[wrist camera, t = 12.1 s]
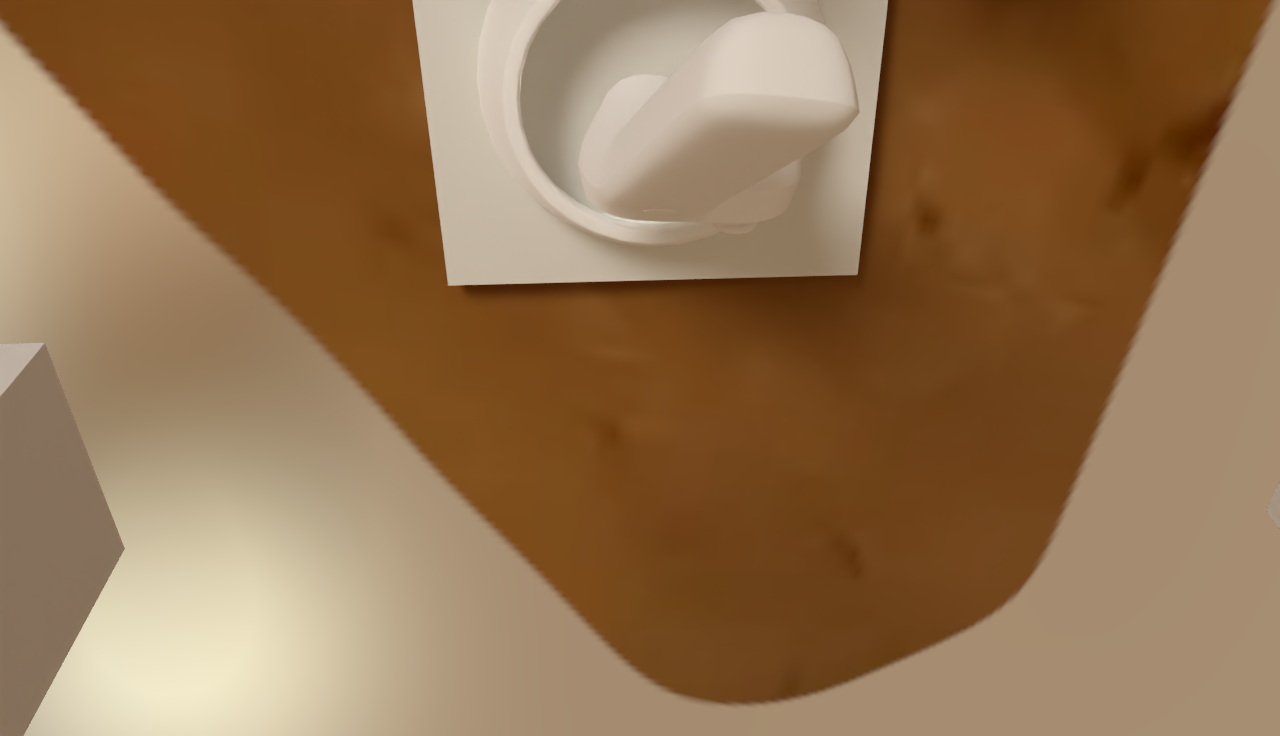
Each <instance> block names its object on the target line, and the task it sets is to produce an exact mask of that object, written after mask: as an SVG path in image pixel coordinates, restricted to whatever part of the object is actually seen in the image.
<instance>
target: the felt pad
mask: <svg viewBox="0 0 1280 736" xmlns="http://www.w3.org/2000/svg"><path fill="white" fill-rule="evenodd" d="M490 2H491V0H413V8H414V16H415V24H416V32H417V40H418V48H419V56H420V64H421V72H422V80H423V88H424V96H425V104H426V112H427V119H428V127H429V135H430V143H431V151H432V159H433V167H434V175H435V183H436V191H437V199H438V207H439V215H440V223H441V231H442V239H443V247H444V255H445V263H446V271H447V279H448V286H450V285H488V284H526V283H564V282H603V281H641V280H679V279H717V278H756V277H794V276H832V275H858V266H859V257H860V248H861V239H862V230H863V221H864V212H865V203H866V194H867V185H868V176H869V167H870V158H871V149H872V140H873V131H874V122H875V113H876V104H877V95H878V86H879V78H880V69H881V60H882V51H883V42H884V33H885V24H886V15H887V6H888V0H817V2H818V5H819V8H820V10H821V13H822V16H823V18H824V23H825V26H826V27H828V28H829V29H830V30H831V31H832V32H833V33H834V34H835V35H836V36H838V37H839V39H840V42H841V44H842V46H843V48H844V50H845V52H846V55H847V57H848V60H849V62H850V65H851V68H852V72H853V77H854V81H855V86H856V92H857V97H858V104H859V111H860V113H859V114H858V115H857V117H856V118H855V119H854V120H853V122H852V123H851V124H850V125H849V126H848V128H847V129H846V130H844V131H843V132H841V133H840V134H838V135H837V136H835V137H834V138H833V139H831V140H830V141H828V142H827V143H825V144H823V145H821V146H820V147H818V148H816V149H815V150H813V151H811V152H809V153H808V154H806V155H805V156H804V157H803V159H802V160H801V177H800V180H799V182H798V185H797V188H796V190H795V192H794V195H793V197H792V199H791V202H790V204H789V206H788V208H787V209H786V211H785V212H783V213H782V214H781V215H779V216H776V217H774V218H772V219H768V220H765V221H760V222H756V227H755V228H754V229H753V230H752V231H750V232H748V233H744V234H730V233H725V232H722V231H721V232H718V233H716V234H714V235H712V236H709V237H707V238H703V239H699V240H695V241H691V242H687V243H683V244H679V245H666V246H651V247H646V246H637V245H629V244H620V243H616V242H612V241H609V240H606V239H602V238H599V237H596V236H592V235H589V234H587V233H585V232H583V231H582V230H580V229H578V228H576V227H574V226H572V225H570V224H568V223H566V222H564V221H562V220H560V219H558V218H557V217H556V216H554V215H553V214H552V213H551V212H549V211H548V210H547V209H545V208H544V207H543V206H542V205H540V204H539V203H538V202H536V201H535V200H534V199H533V198H532V197H531V196H530V195H529V194H528V192H527V191H526V190H525V189H524V188H523V187H522V186H521V184H520V183H519V182H518V181H517V180H516V179H515V178H514V177H513V175H512V174H511V173H510V172H509V170H508V169H507V167H506V165H505V163H504V162H503V160H502V158H501V157H500V155H499V153H498V151H497V150H496V148H495V146H494V145H493V143H492V140H491V137H490V135H489V132H488V129H487V126H486V123H485V120H484V117H483V115H482V112H481V105H480V98H479V91H478V84H477V60H478V42H479V39H480V35H481V31H482V27H483V23H484V20H485V16H486V12H487V8H488V6H489V4H490ZM759 12H765V11H764V10H763V8H762V7H761V6H760V5H759V4H758V3H757V2H756V1H755V0H561V1H560V2H559V3H558V4H557V5H556V7H555V8H554V9H553V10H552V12H551V13H550V14H549V15H548V16H547V18H546V19H545V20H544V21H543V22H542V24H541V26H540V28H539V30H538V32H537V34H536V36H535V37H534V39H533V41H532V43H531V45H530V47H529V50H528V54H527V57H526V61H525V64H524V67H523V71H522V77H521V89H520V107H521V115H522V123H523V128H524V131H525V134H526V137H527V140H528V143H529V146H530V149H531V151H532V153H533V155H534V157H535V159H536V160H537V162H538V164H539V166H540V167H541V168H542V170H543V171H544V172H545V173H546V174H547V175H548V177H549V178H550V179H551V180H552V181H553V182H554V184H555V185H556V186H558V187H559V188H560V189H561V190H563V191H564V192H565V193H566V194H568V195H569V196H570V197H571V198H573V199H574V200H575V201H576V202H578V203H580V204H582V205H584V206H586V207H588V208H590V209H592V210H594V211H596V212H597V213H600V214H603V215H606V216H609V217H613V218H616V219H619V220H622V221H629V222H638V223H646V224H653V223H669V222H660V221H642V220H631V219H626V218H621V217H617V216H613V215H610V214H608V213H605V212H603V211H601V210H599V209H597V208H596V207H594V206H593V205H592V204H591V203H590V202H589V201H588V199H587V197H586V194H585V190H584V187H583V183H582V179H581V175H580V171H579V166H578V160H579V155H580V150H581V146H582V143H583V140H584V137H585V135H586V133H587V131H588V128H589V126H590V124H591V122H592V121H593V119H594V117H595V115H596V113H597V112H598V110H599V108H600V106H601V104H602V102H603V100H604V98H605V96H606V94H607V92H608V91H609V90H611V89H612V88H613V87H614V86H615V85H616V84H617V83H618V82H619V81H620V80H622V79H625V78H628V77H630V76H633V75H639V74H655V75H661V76H664V77H667V78H669V77H670V76H671V75H672V74H673V73H674V72H675V71H676V69H677V68H678V67H679V66H680V65H681V64H682V63H683V62H684V61H685V60H686V59H687V58H688V57H689V56H690V55H691V54H692V53H693V51H694V50H695V49H696V48H697V47H698V46H699V45H700V44H701V43H702V42H704V41H705V40H706V39H707V38H708V37H709V36H710V35H712V34H713V33H714V32H715V31H716V30H717V29H719V28H720V27H721V26H723V25H724V24H725V23H727V22H728V21H729V20H731V19H732V18H736V17H741V16H745V15H750V14H754V13H759Z"/></svg>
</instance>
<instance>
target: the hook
mask: <svg viewBox="0 0 1280 736" xmlns="http://www.w3.org/2000/svg"><path fill="white" fill-rule="evenodd" d="M560 1H561V0H491V2H490V4H489V6H488V8H487V12H486V16H485V20H484V23H483V27H482V31H481V35H480V39H479V42H478V60H477V84H478V91H479V98H480V105H481V112H482V115H483V117H484V120H485V123H486V126H487V129H488V132H489V135H490V137H491V140H492V143H493V145H494V146H495V148H496V150H497V151H498V153H499V155H500V157H501V158H502V160H503V162H504V163H505V165H506V167H507V169H508V170H509V172H510V173H511V174H512V175H513V177H514V178H515V179H516V180H517V181H518V182H519V183H520V184H521V186H522V187H523V188H524V189H525V190H526V191H527V192H528V194H529V195H530V196H531V197H532V198H533V199H534V200H535V201H536V202H538V203H539V204H540V205H542V206H543V207H544V208H545V209H547V210H548V211H549V212H551V213H552V214H553V215H554V216H556V217H557V218H558V219H560V220H562V221H564V222H566V223H568V224H570V225H572V226H574V227H576V228H578V229H580V230H582V231H583V232H585V233H587V234H589V235H592V236H596V237H599V238H602V239H606V240H609V241H612V242H616V243H620V244H629V245H637V246H646V247H651V246H666V245H679V244H683V243H687V242H691V241H695V240H699V239H703V238H707V237H709V236H712V235H714V234H716V233H718V232H721V231H722V232H725V233H730V234H744V233H748V232H750V231H752V230H753V229H754V228H755V227H756V222H760V221H765V220H768V219H772V218H774V217H776V216H779V215H781V214H782V213H783V212H785V211H786V209H787V208H788V206H789V204H790V202H791V199H792V197H793V195H794V192H795V190H796V188H797V185H798V182H799V180H800V177H801V160H802V159H803V157H804V156H805V155H806V154H808V153H809V152H811V151H813V150H815V149H816V148H818V147H820V146H821V145H823V144H825V143H827V142H828V141H830V140H831V139H833V138H834V137H835V136H837V135H838V134H840V133H841V132H843V131H844V130H846V129H847V128H848V126H849V125H850V124H851V123H852V122H853V120H854V119H855V118H856V117H857V115H858V114H859V113H860V111H859V104H858V97H857V92H856V86H855V81H854V77H853V72H852V68H851V65H850V62H849V60H848V57H847V55H846V52H845V50H844V48H843V46H842V44H841V42H840V39H839V37H838V36H836V35H835V34H834V33H833V32H832V31H831V30H830V29H829V28H828V27H826V26H825V23H824V18H823V16H822V13H821V10H820V8H819V5H818V2H817V0H755V1H756V2H757V3H758V4H759V5H760V6H761V7H762V8H763V10H764V11H765V12H759V13H754V14H750V15H745V16H741V17H736V18H732V19H731V20H729V21H728V22H727V23H725V24H724V25H723V26H721V27H720V28H719V29H717V30H716V31H715V32H714V33H713V34H712V35H710V36H709V37H708V38H707V39H706V40H705V41H704V42H702V43H701V44H700V45H699V46H698V47H697V48H696V49H695V50H694V51H693V53H692V54H691V55H690V56H689V57H688V58H687V59H686V60H685V61H684V62H683V63H682V64H681V65H680V66H679V67H678V68H677V69H676V71H675V72H674V73H673V74H672V75H671V76H670V77H669V78H667V77H664V76H661V75H655V74H639V75H633V76H630V77H628V78H625V79H622V80H620V81H619V82H618V83H617V84H616V85H615V86H614V87H613V88H612V89H611V90H609V91H608V92H607V94H606V96H605V98H604V100H603V102H602V104H601V106H600V108H599V110H598V112H597V113H596V115H595V117H594V119H593V121H592V122H591V124H590V126H589V128H588V131H587V133H586V135H585V137H584V140H583V143H582V146H581V150H580V155H579V160H578V166H579V171H580V175H581V179H582V183H583V187H584V190H585V194H586V197H587V199H588V201H589V202H590V203H591V204H592V205H593V206H594V207H596V208H597V209H599V210H601V211H603V212H605V213H608V214H610V215H613V216H617V217H621V218H626V219H631V220H642V221H660V222H669V223H653V224H646V223H638V222H629V221H622V220H619V219H616V218H613V217H609V216H606V215H603V214H600V213H597V212H596V211H594V210H592V209H590V208H588V207H586V206H584V205H582V204H580V203H578V202H576V201H575V200H574V199H573V198H571V197H570V196H569V195H568V194H566V193H565V192H564V191H563V190H561V189H560V188H559V187H558V186H556V185H555V184H554V182H553V181H552V180H551V179H550V178H549V177H548V175H547V174H546V173H545V172H544V171H543V170H542V168H541V167H540V166H539V164H538V162H537V160H536V159H535V157H534V155H533V153H532V151H531V149H530V146H529V143H528V140H527V137H526V134H525V131H524V128H523V123H522V115H521V107H520V89H521V77H522V71H523V67H524V64H525V61H526V57H527V54H528V50H529V47H530V45H531V43H532V41H533V39H534V37H535V36H536V34H537V32H538V30H539V28H540V26H541V24H542V22H543V21H544V20H545V19H546V18H547V16H548V15H549V14H550V13H551V12H552V10H553V9H554V8H555V7H556V5H557V4H558V3H559V2H560Z"/></svg>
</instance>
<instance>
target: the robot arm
mask: <svg viewBox="0 0 1280 736" xmlns="http://www.w3.org/2000/svg"><path fill="white" fill-rule="evenodd" d="M1267 513H1268V515H1269V516H1270V517H1271V518H1272V519H1273V521H1274V522H1275V523H1276V525H1277V526H1278V527H1279V528H1280V481H1279V483H1278V486H1277V488H1276V491H1275V493H1274V495H1273V498H1272V500H1271V502H1270V505H1269V507H1268V510H1267ZM123 551H124V546H123V543H122V541H121V538H120V536H119V533H118V530H117V528H116V525H115V523H114V520H113V518H112V515H111V512H110V510H109V507H108V505H107V502H106V499H105V497H104V494H103V492H102V489H101V487H100V484H99V481H98V479H97V476H96V474H95V471H94V469H93V466H92V463H91V461H90V458H89V456H88V453H87V451H86V448H85V445H84V443H83V440H82V438H81V435H80V432H79V430H78V427H77V425H76V422H75V420H74V417H73V415H72V412H71V409H70V407H69V404H68V402H67V399H66V397H65V394H64V391H63V389H62V386H61V384H60V381H59V378H58V376H57V373H56V371H55V368H54V366H53V363H52V360H51V358H50V355H49V353H48V350H47V347H46V345H45V343H27V344H26V343H25V344H0V736H23V735H24V733H25V731H26V730H27V728H28V726H29V724H30V722H31V720H32V718H33V717H34V715H35V713H36V711H37V709H38V708H39V706H40V704H41V702H42V700H43V698H44V696H45V695H46V692H47V691H48V689H49V687H50V685H51V684H52V682H53V680H54V678H55V676H56V674H57V672H58V671H59V669H60V667H61V665H62V663H63V661H64V659H65V657H66V656H67V654H68V652H69V650H70V648H71V647H72V645H73V643H74V641H75V639H76V637H77V636H78V634H79V632H80V630H81V628H82V626H83V624H84V622H85V621H86V619H87V617H88V615H89V613H90V611H91V609H92V607H93V606H94V604H95V602H96V600H97V599H98V597H99V595H100V593H101V591H102V589H103V588H104V586H105V584H106V582H107V580H108V578H109V576H110V575H111V573H112V571H113V569H114V567H115V565H116V563H117V562H118V560H119V558H120V556H121V554H122V552H123Z"/></svg>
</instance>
